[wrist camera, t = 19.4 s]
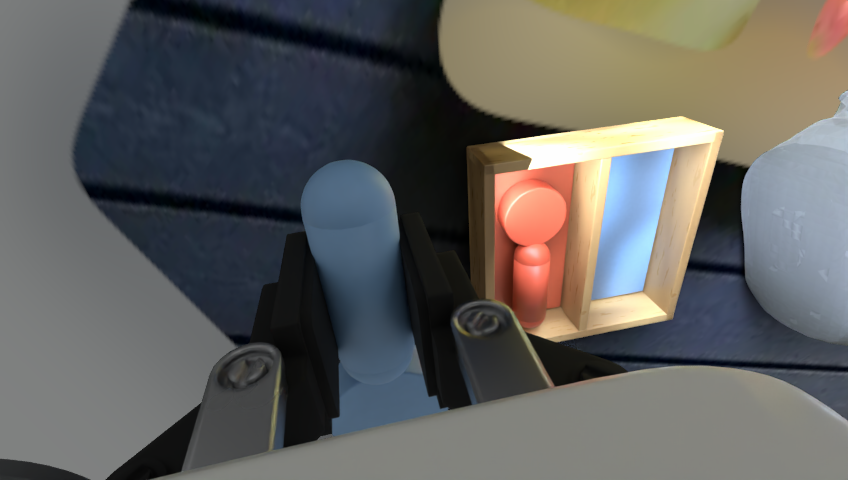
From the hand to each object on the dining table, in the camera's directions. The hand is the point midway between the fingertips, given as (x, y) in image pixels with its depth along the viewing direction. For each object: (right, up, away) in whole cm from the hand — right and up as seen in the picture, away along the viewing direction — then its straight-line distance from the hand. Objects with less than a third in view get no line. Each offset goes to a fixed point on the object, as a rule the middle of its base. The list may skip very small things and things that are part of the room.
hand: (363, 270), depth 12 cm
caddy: (+11, +2, +16) cm, 20 cm away
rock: (+29, +5, +19) cm, 35 cm away
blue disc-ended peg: (0, -1, +1) cm, 2 cm away
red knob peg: (+8, 0, +15) cm, 18 cm away
